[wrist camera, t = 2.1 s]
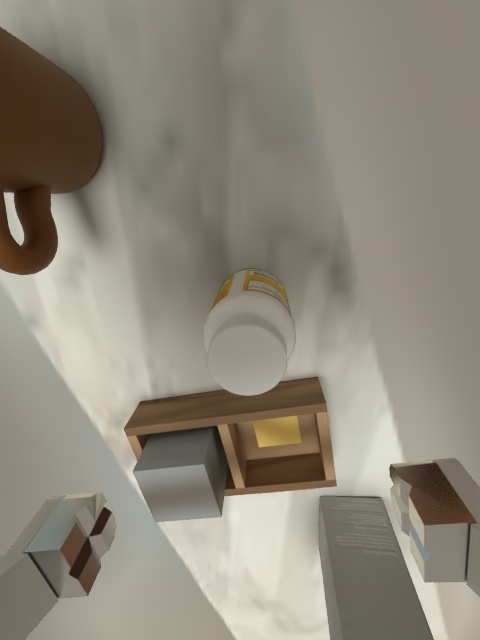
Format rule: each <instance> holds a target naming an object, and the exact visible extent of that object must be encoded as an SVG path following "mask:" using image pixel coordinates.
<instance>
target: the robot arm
mask: <svg viewBox="0 0 480 640" xmlns="http://www.w3.org/2000/svg"><path fill="white" fill-rule="evenodd" d="M389 469H390V477H391V479H392V481H393V484H394V485H393V486H392V487H391V488H390V489H391V499H392V503H393V508H394V511H395V514H396V517H397V520H398V522H399V525H400V527H401V529H402V531H403V532H404V533H406V534H407V535H408V536H409V537H410V550H411V553H412V555H413V557H414V559H415V562H416V564H417V566H418V569H419V571H420V573H421V575H422V578H423V580H424V582H467V585H468V586H469V587H470V588H471V589H472V590H473V591H474V592H475V593H476V594H477V595H478V596H479V597H480V487H479V486H478V485H477V484H476V482H475V481H474V480H473V479H472V477H471V476H470V475H469V473H468V472H467V471H466V470H465V468H464V467H463V466H462V464H461V463H460V462H459V461H458V460H456V459H455V458H448V459H438V460H432V461H431V460H426V461H416V462H407V463H398V464H391V465H390V468H389ZM106 502H107V501H106V499H105V497H104V495H103V493H86V494H70V495H59V496H52V497H51V498H49V499H48V500H46V501H45V503H44V504H43V505H42V507H41V508H40V510H39V511H38V512H37V513H36V515H35V516H34V517H33V519H32V520H31V521H30V523H29V524H28V525H27V526H26V528H25V529H24V530H23V532H22V533H21V534H20V536H19V537H18V538H17V540H16V541H15V542H14V544H13V545H12V546H11V548H10V549H9V550H8V552H7V553H6V554H5V555H0V640H25V639H26V638H27V636H28V635H29V634H30V633H31V632H32V631H33V629H34V628H35V627H36V626H37V625H38V624H39V623H40V621H41V620H42V619H43V618H44V617H45V616H46V614H47V613H48V612H49V611H50V610H51V609H52V608H53V606H54V605H55V604H56V603H57V602H58V598H71V597H83V596H88V595H89V592H90V590H91V588H92V586H93V584H94V581H95V579H96V577H97V575H98V573H99V571H100V568H101V562H100V558H101V557H102V556H103V555H104V554H105V553H106V552H107V551H108V550H109V549H110V546H111V544H112V542H113V539H114V535H115V529H116V523H115V517H114V515H113V513H112V512H111V511H110V510H108V509H107V508H106V507H105V505H106Z"/></svg>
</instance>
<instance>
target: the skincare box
mask: <svg viewBox="0 0 480 640" xmlns="http://www.w3.org/2000/svg"><path fill="white" fill-rule="evenodd" d="M319 551H320V559H321V567H322V575H323V583H324V591H325V600H326V608H327V616H328V624H329V633H330V640H434V639H433V636H432V633H431V631H430V628H429V625H428V622H427V620H426V617H425V614H424V612H423V609H422V606H421V603H420V601H419V598H418V595H417V592H416V590H415V587H414V584H413V582H412V579H411V576H410V574H409V571H408V568H407V566H406V563H405V560H404V557H403V555H402V552H401V549H400V546H399V544H398V541H397V538H396V536H395V533H394V530H393V527H392V525H391V522H390V519H389V516H388V514H387V511H386V508H385V506H384V503H383V500H381V498H357V497H335V496H322V497H320V518H319Z"/></svg>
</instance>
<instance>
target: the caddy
mask: <svg viewBox="0 0 480 640" xmlns="http://www.w3.org/2000/svg"><path fill="white" fill-rule="evenodd" d="M124 431H125V433H126V435H127V438H128V440H129V442H130V445H131V447H132V449H133V452H134V454H135V456H136V458H137V461H138V462H137V464H136V466H135V468H134V470H133V474H134V476H135V478H136V480H137V482H138V485H139V487H140V489H141V491H142V494H143V496H144V498H145V500H146V503H147V505H148V507H149V509H150V511H151V514H152V516H153V518H154V520H155V522H164V521H176V520H189V519H202V518H214V517H221V516H222V509H223V501H224V496H233V495H244V494H255V493H258V494H260V493H271V492H283V491H294V490H305V489H315V488H323V487H334V486H337V484H336V476H335V468H334V461H333V453H332V445H331V438H330V430H329V422H328V415H327V407H326V402H325V399H324V395H323V392H322V389H321V386H320V383H319V380H318V377H314V378H307V379H300V380H292V381H285V382H279V383H278V384H277V385H276V386H275V387H273V388H272V389H270V390H269V391H267V392H265V393H262V394H258V395H252V396H245V395H238V394H234V393H231V392H229V391H227V390H221V391H214V392H207V393H200V394H193V395H185V396H178V397H171V398H164V399H157V400H150V401H143V402H140V403H139V405H138V406H137V408H136V410H135V411H134V413H133V415H132V416H131V418H130V420H129V421H128V423H127V424H126V426H125V428H124Z"/></svg>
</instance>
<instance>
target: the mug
mask: <svg viewBox="0 0 480 640" xmlns="http://www.w3.org/2000/svg"><path fill="white" fill-rule="evenodd" d="M101 152H102V133H101V127H100V123H99V119H98V116H97V114H96V111H95V109H94V107H93V105H92V103H91V101H90V99H89V98H88V96H87V95H86V93H85V92H84V91H83V89H82V88H81V87H80V86H79V84H78V83H77V82H76V81H75V80H74V79H73V78H72V77H71V76H70V75H68V74H67V73H66V72H65V71H63V70H62V69H61V68H59V67H58V66H57V65H55V64H54V63H52V62H51V61H49V60H48V59H46V58H45V57H43V56H42V55H41V54H39V53H38V52H36V51H35V50H33V49H32V48H31V47H29V46H28V45H26V44H25V43H24V42H22V41H21V40H19V39H18V38H16V37H15V36H13V35H12V34H10V33H9V32H7V31H6V30H4V29H3V28H1V27H0V269H2V270H4V271H6V272H9V273H14V274H18V275H28V274H35V273H37V272H39V271H41V270H43V269H44V268H46V267H47V266H48V265H49V264H50V263H51V262H52V260H53V258H54V256H55V254H56V252H57V246H58V236H57V230H56V226H55V222H54V219H53V217H52V214H51V194H60V193H66V192H70V191H73V190H76V189H78V188H80V187H81V186H83V185H84V184H85V183H87V182H88V181H89V180H90V178H91V177H92V176H93V174H94V173H95V171H96V169H97V167H98V164H99V161H100V158H101ZM3 192H11V193H14V203H15V209H16V212H17V215H18V218H19V220H20V223H21V225H22V228H23V231H24V242H23V244H22V245H21V246H20V245H19V244H18V243H17V242H16V241H15V240H14V238H13V237H12V235H11V233H10V230H9V226H8V220H7V213H6V207H5V201H4V193H3Z"/></svg>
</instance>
